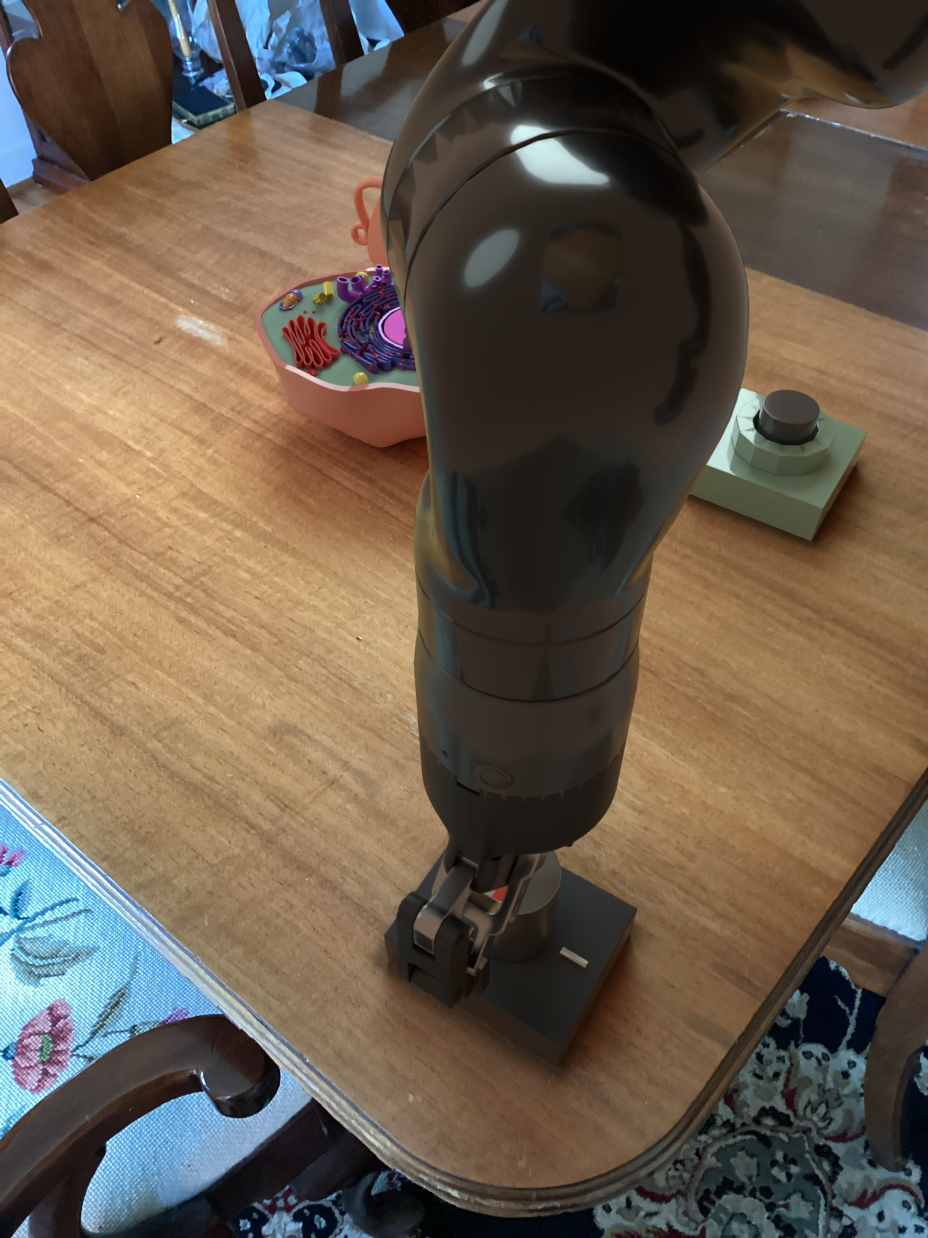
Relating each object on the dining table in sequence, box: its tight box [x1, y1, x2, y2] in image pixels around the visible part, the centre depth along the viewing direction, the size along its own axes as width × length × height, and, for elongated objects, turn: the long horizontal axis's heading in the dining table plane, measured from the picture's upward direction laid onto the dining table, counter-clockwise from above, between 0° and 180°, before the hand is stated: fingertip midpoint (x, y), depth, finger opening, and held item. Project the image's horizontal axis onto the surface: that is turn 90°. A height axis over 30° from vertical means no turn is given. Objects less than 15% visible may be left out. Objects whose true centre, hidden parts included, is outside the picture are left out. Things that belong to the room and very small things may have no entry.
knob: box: [470, 850, 562, 962], centre depth 47 cm, size 4×4×6 cm
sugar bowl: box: [350, 175, 389, 267], centre depth 92 cm, size 12×14×10 cm
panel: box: [383, 846, 638, 1068], centre depth 51 cm, size 10×8×3 cm
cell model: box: [254, 264, 426, 448], centre depth 77 cm, size 17×20×11 cm
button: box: [757, 389, 821, 445], centre depth 71 cm, size 4×4×2 cm
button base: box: [690, 387, 869, 542], centre depth 74 cm, size 10×10×5 cm
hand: (511, 903), depth 47 cm, fingers open, 8 cm apart
